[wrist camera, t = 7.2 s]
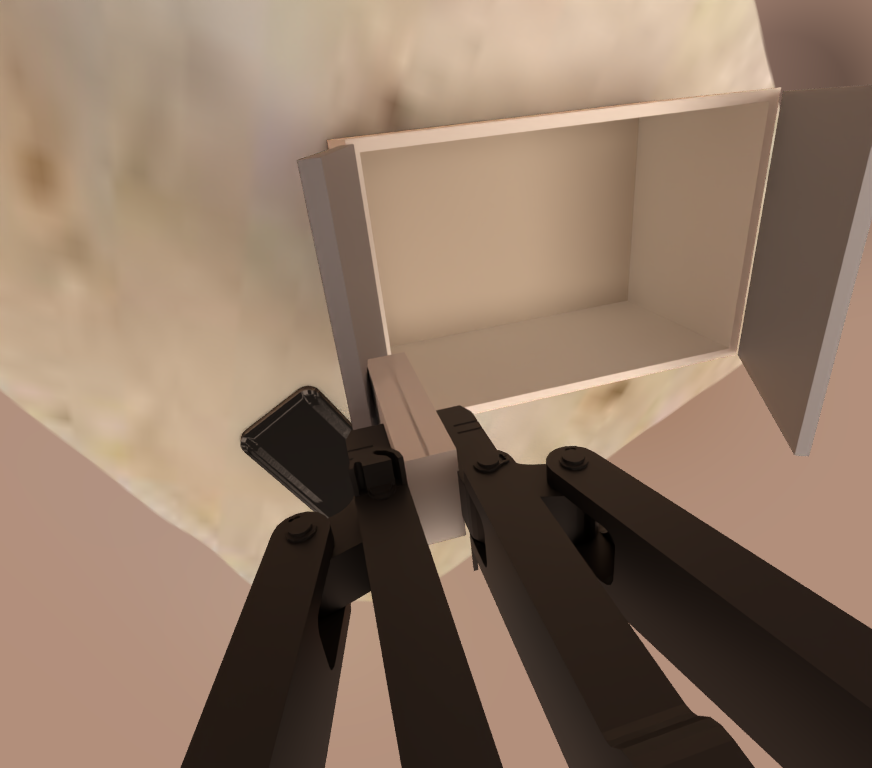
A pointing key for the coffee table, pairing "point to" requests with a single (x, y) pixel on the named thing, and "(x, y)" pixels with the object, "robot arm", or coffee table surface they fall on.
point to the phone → (305, 449)
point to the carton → (565, 243)
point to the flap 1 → (345, 271)
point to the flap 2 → (808, 252)
